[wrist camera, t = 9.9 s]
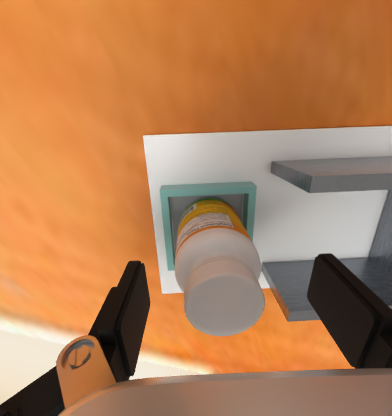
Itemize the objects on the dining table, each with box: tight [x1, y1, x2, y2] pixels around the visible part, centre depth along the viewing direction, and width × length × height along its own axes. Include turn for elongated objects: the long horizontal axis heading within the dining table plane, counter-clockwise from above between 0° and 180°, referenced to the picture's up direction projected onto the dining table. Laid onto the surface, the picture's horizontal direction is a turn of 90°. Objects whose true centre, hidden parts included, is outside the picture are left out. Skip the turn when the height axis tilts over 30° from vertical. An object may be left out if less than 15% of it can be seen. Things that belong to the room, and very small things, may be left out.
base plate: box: [143, 126, 392, 294], centre depth 19 cm, size 24×16×3 cm, turn 92°
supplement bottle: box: [175, 197, 265, 336], centre depth 15 cm, size 5×5×10 cm
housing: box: [261, 156, 392, 322], centre depth 17 cm, size 12×11×6 cm
